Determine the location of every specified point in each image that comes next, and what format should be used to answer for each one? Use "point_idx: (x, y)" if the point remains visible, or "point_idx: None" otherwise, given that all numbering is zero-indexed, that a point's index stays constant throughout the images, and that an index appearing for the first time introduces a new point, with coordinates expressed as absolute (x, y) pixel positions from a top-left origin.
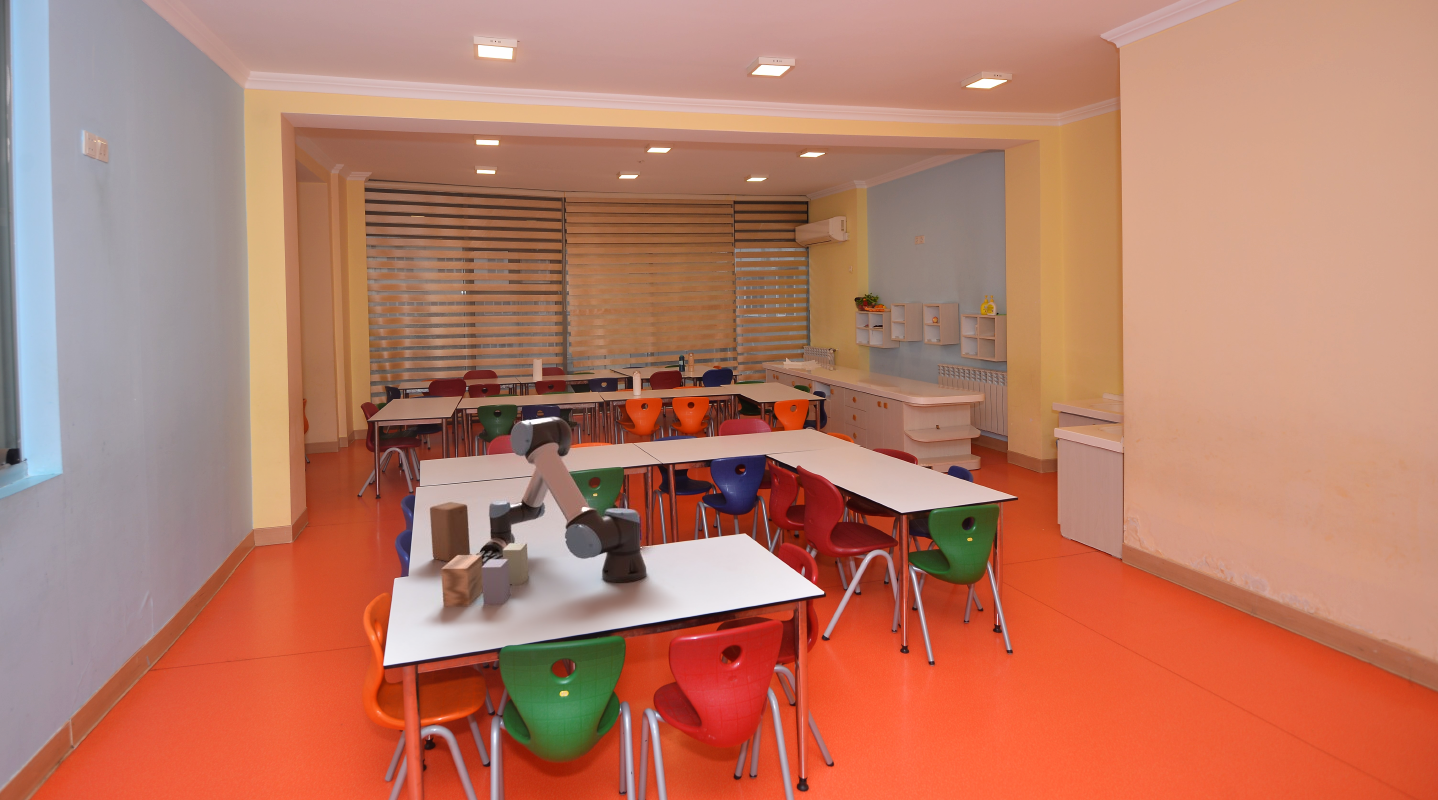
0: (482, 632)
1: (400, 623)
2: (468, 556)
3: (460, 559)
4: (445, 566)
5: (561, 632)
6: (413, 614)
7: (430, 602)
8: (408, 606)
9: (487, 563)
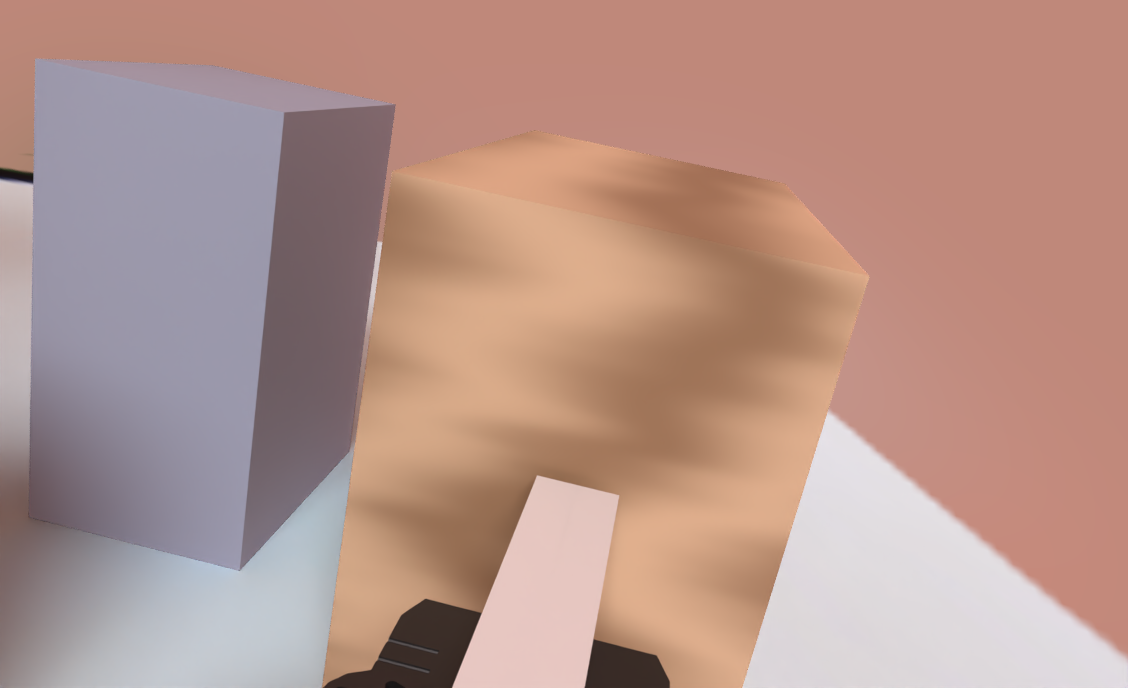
0: (373, 278)
1: (846, 430)
2: (624, 208)
3: (703, 202)
4: (776, 188)
5: (24, 195)
6: (852, 488)
7: (869, 620)
8: (1017, 606)
9: (328, 101)
